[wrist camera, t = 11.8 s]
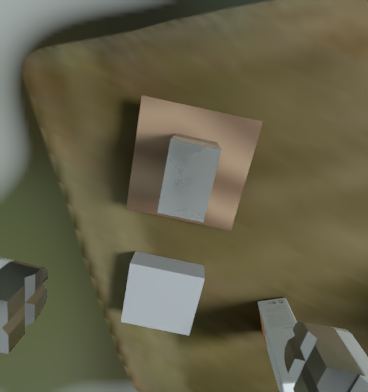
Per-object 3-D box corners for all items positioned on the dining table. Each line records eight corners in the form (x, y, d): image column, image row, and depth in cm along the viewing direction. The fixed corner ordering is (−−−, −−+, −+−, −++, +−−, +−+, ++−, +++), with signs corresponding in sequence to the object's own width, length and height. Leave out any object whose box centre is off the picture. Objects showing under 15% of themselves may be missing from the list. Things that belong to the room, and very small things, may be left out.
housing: (202, 201, 30) (203, 222, 24) (165, 193, 30) (157, 212, 24) (216, 142, 27) (221, 150, 22) (176, 133, 27) (170, 139, 22)
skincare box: (256, 300, 37) (281, 382, 26) (285, 296, 37) (324, 378, 26) (261, 331, 39) (286, 421, 28) (289, 328, 39) (327, 418, 27)
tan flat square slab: (228, 220, 33) (230, 230, 31) (132, 200, 33) (126, 208, 30) (256, 120, 29) (263, 121, 26) (147, 96, 29) (141, 95, 26)
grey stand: (189, 319, 39) (189, 335, 36) (126, 306, 39) (120, 321, 36) (204, 265, 36) (204, 278, 33) (135, 251, 36) (130, 263, 33)
